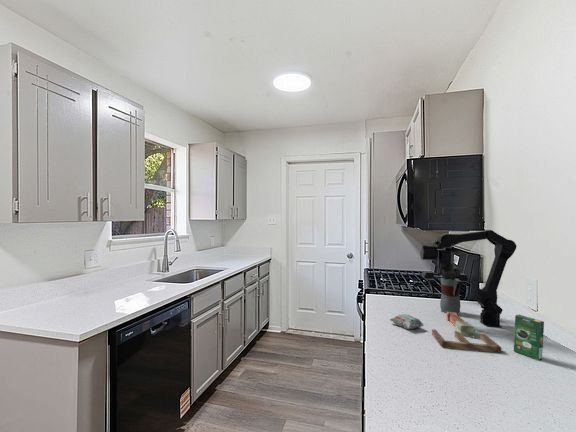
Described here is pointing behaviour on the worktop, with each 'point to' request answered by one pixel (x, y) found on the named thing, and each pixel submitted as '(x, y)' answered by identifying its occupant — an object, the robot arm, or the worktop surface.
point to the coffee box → (528, 336)
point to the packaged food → (407, 321)
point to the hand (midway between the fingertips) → (443, 294)
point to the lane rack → (467, 343)
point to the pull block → (460, 324)
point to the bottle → (449, 295)
